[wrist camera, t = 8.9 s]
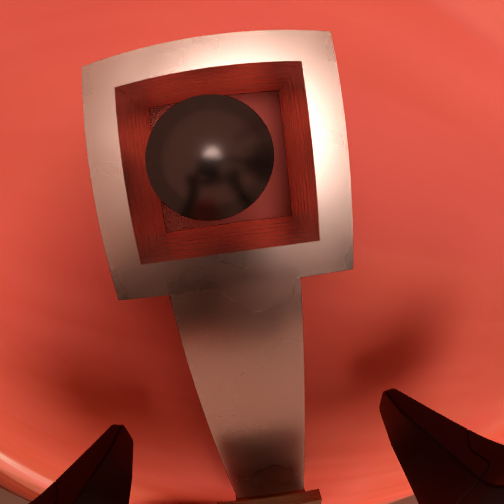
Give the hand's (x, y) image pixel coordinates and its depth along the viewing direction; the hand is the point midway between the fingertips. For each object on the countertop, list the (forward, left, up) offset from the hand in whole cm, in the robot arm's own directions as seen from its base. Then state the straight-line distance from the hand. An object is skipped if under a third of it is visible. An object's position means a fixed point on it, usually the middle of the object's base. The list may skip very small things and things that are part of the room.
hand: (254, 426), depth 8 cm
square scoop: (+2, -2, -3) cm, 4 cm away
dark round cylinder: (+6, -6, -3) cm, 9 cm away
